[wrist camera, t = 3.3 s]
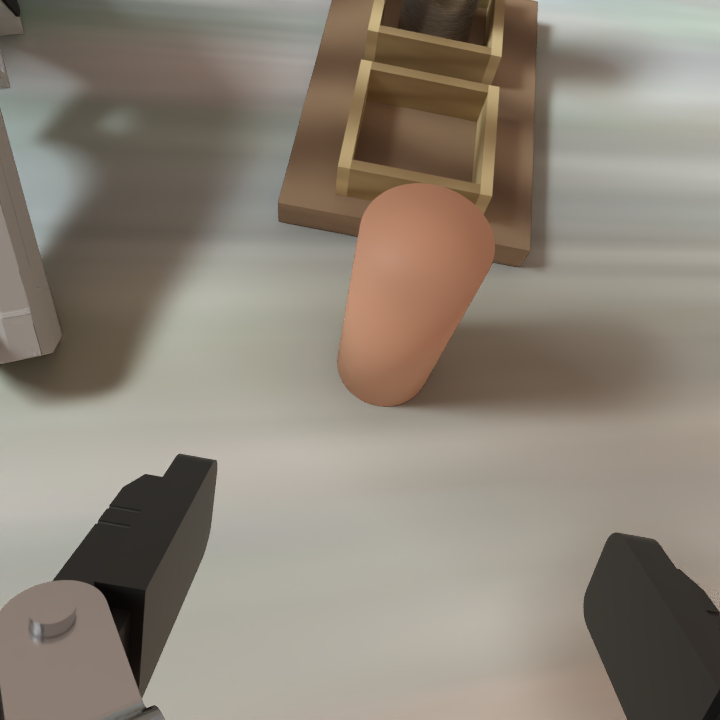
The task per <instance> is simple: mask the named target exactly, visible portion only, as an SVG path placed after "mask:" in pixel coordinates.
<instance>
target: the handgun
mask: <svg viewBox="0 0 720 720" xmlns="http://www.w3.org/2000/svg"><path fill="white" fill-rule="evenodd" d="M13 34H24V31H23V27H22V23H21V19H20V9H19V5H18V2H17V0H0V36H2V35H13ZM6 88H10V83H9V79H8V76H7V72H6V68H5V64H4V61H3V57H2V53H1V49H0V89H6ZM61 337H62V333H61V329H60V325H59V322H58V318H57V314H56V311H55V307H54V303H53V299H52V296H51V292H50V289H49V286H48V282H47V279H46V275H45V271H44V268H43V264H42V260H41V257H40V253H39V249H38V245H37V242H36V238H35V234H34V231H33V227H32V223H31V220H30V216H29V212H28V209H27V205H26V201H25V198H24V194H23V190H22V187H21V183H20V179H19V176H18V172H17V168H16V164H15V161H14V157H13V153H12V150H11V146H10V142H9V139H8V135H7V131H6V128H5V124H4V120H3V117H2V113H1V109H0V364H3V363H8V362H13V361H18V360H23V359H28V358H32V357H37V356H42V355H46V354H50V353H53V352H54V350H55V348H56V346H57V344H58V343H59V341H60V339H61Z"/></svg>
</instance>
